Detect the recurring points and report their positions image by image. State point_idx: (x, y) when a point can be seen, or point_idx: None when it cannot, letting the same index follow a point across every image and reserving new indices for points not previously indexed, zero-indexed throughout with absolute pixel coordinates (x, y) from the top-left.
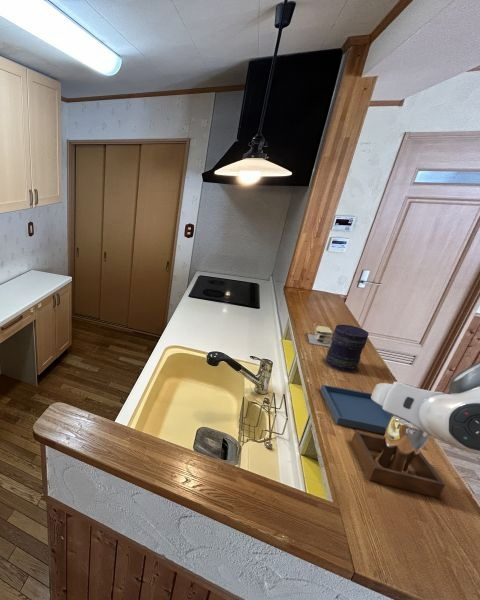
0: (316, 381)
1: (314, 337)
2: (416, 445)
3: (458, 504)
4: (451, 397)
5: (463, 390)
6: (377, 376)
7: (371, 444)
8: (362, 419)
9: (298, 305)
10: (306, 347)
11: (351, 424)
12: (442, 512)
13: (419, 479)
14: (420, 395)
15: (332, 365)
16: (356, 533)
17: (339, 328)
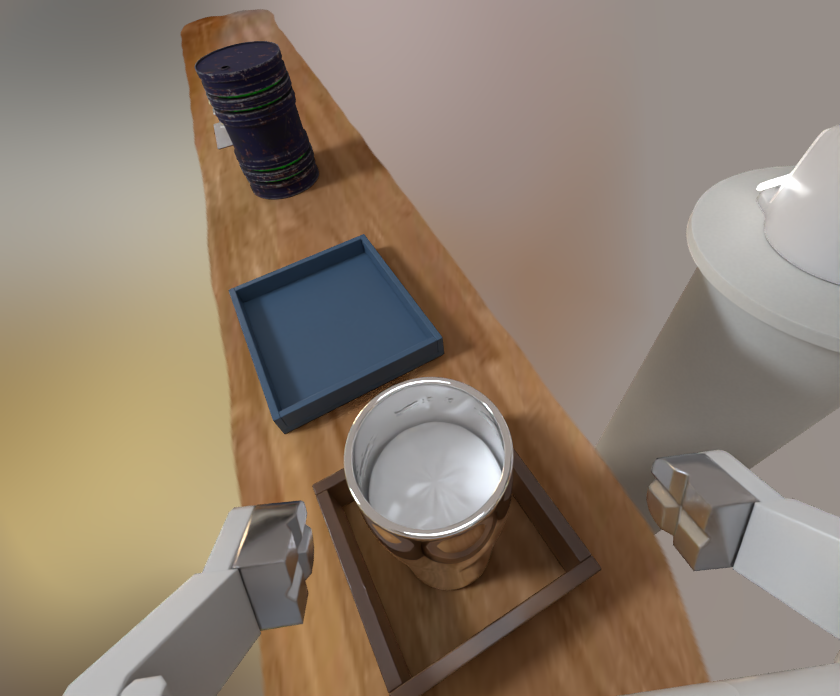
0: (230, 274)
1: (220, 127)
2: (488, 545)
3: (631, 558)
4: None
5: None
6: (361, 168)
7: None
8: (346, 356)
9: (199, 57)
10: (210, 166)
11: (319, 409)
12: (620, 664)
13: (535, 614)
14: None
15: (264, 192)
16: None
17: (206, 65)
